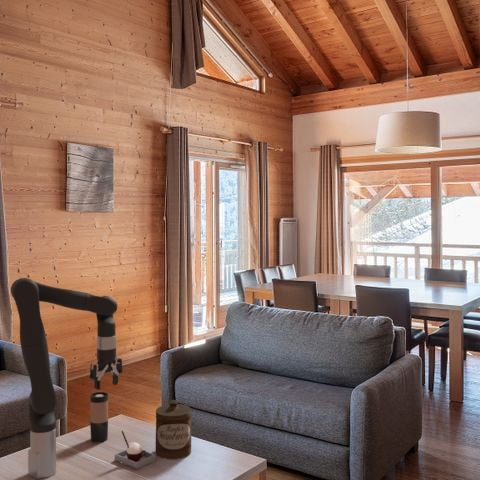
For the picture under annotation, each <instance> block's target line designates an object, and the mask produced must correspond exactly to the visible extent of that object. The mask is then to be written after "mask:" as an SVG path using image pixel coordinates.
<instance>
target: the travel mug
mask: <svg viewBox="0 0 480 480" xmlns="http://www.w3.org/2000/svg"><path fill="white" fill-rule="evenodd" d="M89 396H90V399H89V401H90V404H89V409H90V410H89V411H90V412H89V413H90V415H89V416H90V417H89V420H90V422H89V423H90V424H89V425H90V427H89V428H90V441H91V442H92V443H95V442H101V443H104V441H105V442H106V441H107V440H108V439H109V438H108V437H109V394H108V393H107V392H106V391H105V392H104V391H98V392H97V391H95V392H93V393H90V395H89Z"/></svg>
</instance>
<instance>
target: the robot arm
mask: <svg viewBox="0 0 480 480" xmlns="http://www.w3.org/2000/svg"><path fill="white" fill-rule="evenodd" d="M10 295H11V296H12V298H13V300H14V303H15V305H16V310H17V312H18V317H19V341H20V348H21V354H22V359H23V362H24V365H25V369H26V371H27V374H28V376H29V380H30V388H31V392H30V394H29V397H28V400H29V401H28V410H29V411H28V412H29V413H28V414H29V427H30V428H29V429H30V430H29V431H30V435H29V436H30V439H29V440H30V442H29V443H30V445H29V447H30V448H29V449H28V452H27V455H28V456H27V459H28V461H27V467H28V468H27V469H28V470H27V471H28V473H27V474H28V475H29V476H30V477H32V478H34V479H36V480H39V479H45V478H49V477H51V476H53V475H55V474H56V472H57V421H56V413H55V408H56V406H57V403H58V397H57V394H56V392H55V391H56V390H55V387H54V383H53V381H52V379H53V378H52V376H51V375H52V374H51V364H50V354H49V347H48V340H47V336H46V331H45V327H44V322H43V320H42V316H41V310H40V308H41V307H40V302H43V303H49V304H53V305H56V306H60V307H64V308H67V309H72V310H77V311H83V312H85V311H86V312H90V313H94V314H95V315H96V323H97V329H96V330H97V331H96V332H97V338H96V360H97V363H91V364H90V366H89V367H90V370H89V379H90V380H93V381H94V389H95V390H97V391H99V390H101V378H102V377H103V376H104V375H105V374H107V373H110V372H111V373H112V385H114V386H117V385H118V383H119V375H120V374H122V373H123V359H122V358H120V357H117V337H116V336H117V335H116V333H117V332H116V330H117V329H116V322H115V320H114V314H115V313H116V312H117V311H118V303H117V301H116V300H115V299H114V298H112V297H110V296H108V295H101V296H99V295H94V294H91V293H90V292H84V291H80V290H79V291H78V290H74V289H73V290H72V289H67V288H61V287H60V288H59V287H55V286H50V285H46V284H44V283H40V282H37V281H34V280H32V279H30V278H28V277H21V278H18V279H16V280H15V281H13V283H12V284H11V287H10Z"/></svg>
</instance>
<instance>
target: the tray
mask: <svg viewBox="0 0 480 480" xmlns="http://www.w3.org/2000/svg"><path fill="white" fill-rule="evenodd" d="M143 450H144V449H142V451H143ZM144 454H145V452H142V456H143V455H144ZM115 460H116V461H115ZM114 461H115V462H117V461H119V462H118V463H120V462H122V463H123V464H122V463H121V464H122V465H124V464H126V465H125V466H127V465H128V466H127V467H129V466H130V467H129V468H131V467H132V469H134V470H136V469H137V470H139V469H141V468H143V467H145V465H146V466H148V465H150V464H152V463H154V462H156V454H155V453H152V452H149V451H146V454H145V455H144V456H143V457H142V458H140V460H138V461H136V462H135V461H132V460H130V459H128V458H127V451H126V449H125V450H122V451H120V452H116V453H115V454H114ZM147 464H148V465H147ZM138 468H139V469H138Z"/></svg>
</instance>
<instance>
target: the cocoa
mask: <svg viewBox="0 0 480 480" xmlns="http://www.w3.org/2000/svg"><path fill="white" fill-rule="evenodd" d="M121 433H122V437H123V439H124V442H125V443H126V446H127V447H126V449H125V450H126V451H127V458H128V459H130V460H132V461H135V462H136V461H138V460H140V458H142V457H143V456H144V455H145V454H146V452H147V451H146V450H144V449H143V448H142V446H141V444H139V443H138V442H134V441H133V442H130V443H129V442H128V440H127V438H126V435H125V432H124V431H123V430H121ZM142 450H143V451H142ZM142 452H145V454H144V455H143V456H142Z"/></svg>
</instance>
